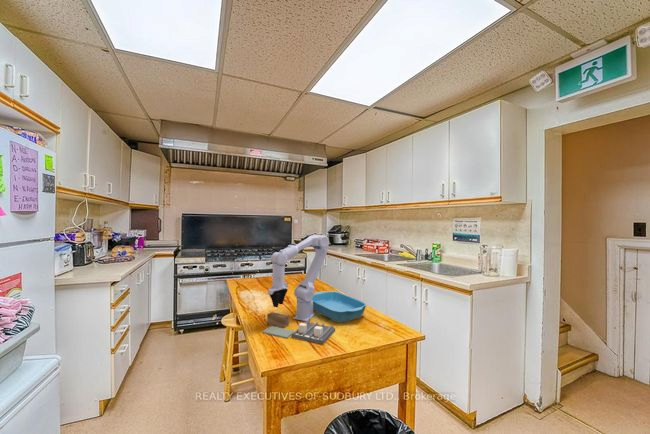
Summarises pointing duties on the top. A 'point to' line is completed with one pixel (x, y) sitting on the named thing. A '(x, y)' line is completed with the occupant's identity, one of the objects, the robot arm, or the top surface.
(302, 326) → the switch tab
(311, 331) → the switch panel
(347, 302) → the casserole dish
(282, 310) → the top surface
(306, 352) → the top surface
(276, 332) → the mat
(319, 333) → the switch tab
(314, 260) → the robot arm
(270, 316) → the brown rectangular block
